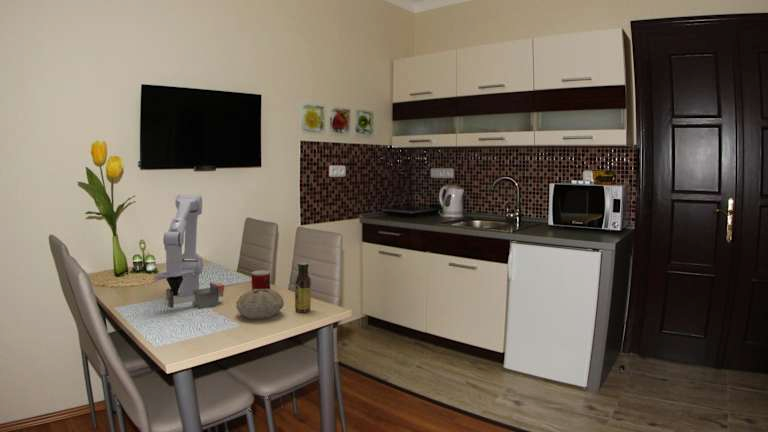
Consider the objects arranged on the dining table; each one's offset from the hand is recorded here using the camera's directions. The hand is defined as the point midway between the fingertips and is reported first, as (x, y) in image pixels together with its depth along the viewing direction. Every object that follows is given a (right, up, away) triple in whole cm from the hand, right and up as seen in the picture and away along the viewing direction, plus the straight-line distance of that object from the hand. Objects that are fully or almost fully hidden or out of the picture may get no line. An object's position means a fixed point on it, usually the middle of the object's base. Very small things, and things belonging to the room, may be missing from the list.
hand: (174, 295), depth 190 cm
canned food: (+28, -4, +23) cm, 37 cm away
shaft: (+6, -4, +5) cm, 9 cm away
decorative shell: (+34, -8, -2) cm, 35 cm away
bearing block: (+9, -5, +9) cm, 14 cm away
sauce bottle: (+50, -7, +4) cm, 50 cm away
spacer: (+13, 0, +12) cm, 18 cm away
